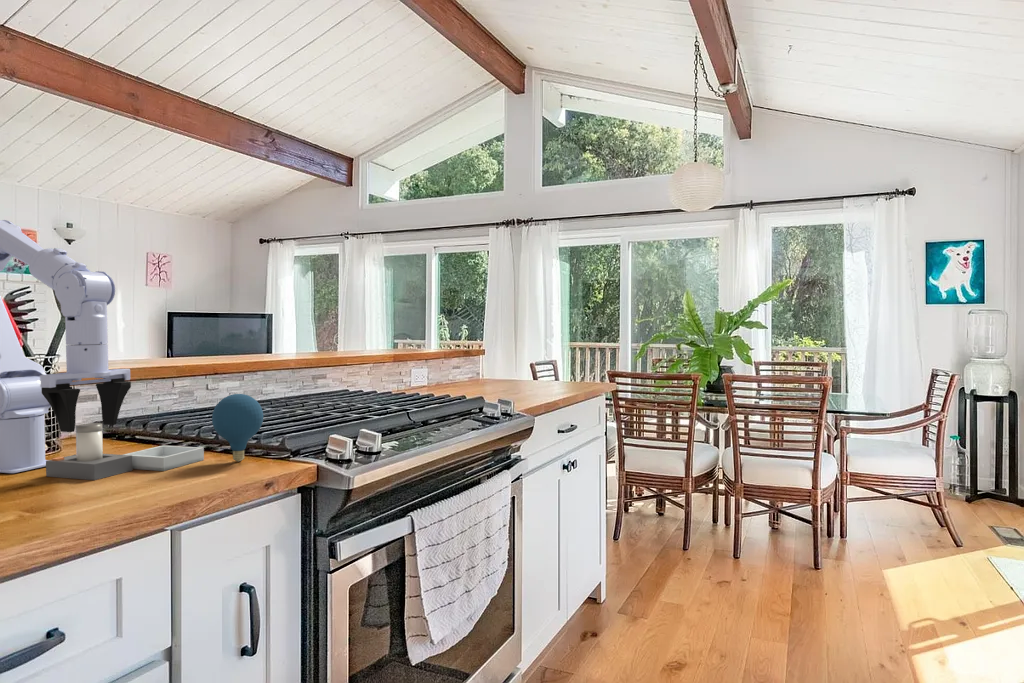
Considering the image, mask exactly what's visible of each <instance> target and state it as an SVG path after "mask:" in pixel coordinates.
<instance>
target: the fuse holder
mask: <svg viewBox="0 0 1024 683" xmlns="http://www.w3.org/2000/svg"><path fill="white" fill-rule="evenodd" d="M47 460H48V461H46V466H45V475H46V476H45V477H50V478H64V479H74V480H76V479H77V480H89V481H97V480H100V479H101V480H102V479H105V478H109V477H112V476H116V475H120V474H123V473H128V472H132V471H133V469H132V455H123V454H116V453H115V454H113V453H103V458H102V459H98V460H94V461H89V462H84V461H77V457H76V454H73V455H68V456H63V457H62V456H60V457H59V456H58V457H57V456H56V457H54V458H51V459H47Z"/></svg>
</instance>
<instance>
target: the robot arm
mask: <svg viewBox="0 0 1024 683" xmlns="http://www.w3.org/2000/svg"><path fill="white" fill-rule="evenodd" d="M67 254H68V251H67V250H65V249H63V248H58V247H57V248H56V247H54V248H53V247H50V248H49V247H48V248H43V247H42V246H41V245H39V244H38V243H37V242H35V241H34V240H33V239H31V238H30V237H29V236H28V235H26V234H25V233H23V231H22V228H21V226H20V225H17V224H14V222H12V221H10V220H7V219H2V220H0V272H3V271H4V269H5V268H6V266H7V265H8V263H9V262H10V260H11V258H12V257H13V258H15V259H17V260H19V261H20V262H22V263H24V264H26V265H28V270H29V271H28V272H29V273H30V274H31V276H32V277H33V278H34V279H37V280H38V281H40V283H43V284H44V285H46V286H47V287H48V288H50V289H51V290H53V291H54V294H55V297H56V299H57V302H59V304H60V313H61V314H62V316H63V317H65V318H64V322H65V323H64V325H65V355H66V356H65V358H66V359H65V361H66V362H65V364H66V372H65V371H64V372H60V373H49V374H47V373H46V371H45V369H44V367H43V365H41V364H39V363H38V362H36V361H34V360H32V359H30V358H28V357H26V356H25V354H24V350H23V349H22V346H21V344H20V341H19V339H18V336H17V334H16V331H15V329H14V326H13V324H12V322H11V319H10V316H9V314H8V310H7V309H6V306H5V304H4V301H3V298H2V296H1V295H0V473H4V474H17V473H20V472H25V471H30V470H34V469H35V470H36V469H39V468H44V467H46V461H48V460H49V459H46V439H45V438H46V436H45V434H46V433H45V429H46V428H45V427H46V426H45V414H49V409H50V408H51V409H52V411H53V414H54V416H55V418H56V421H57V424H58V427H59V431H60V432H61V433H72V432H74V433H75V431H76V430H75V426H76V422H77V420H76V417H77V416H76V413H77V412H76V410H77V403H78V399H79V396H80V393H81V389H80V388H73V386H75V385H76V386H77V385H87V384H95V387H96V389H97V392H98V396H99V399H100V405H101V419H102V425H109V426H110V425H111V426H114V425H117V423H118V422H117V421H118V418H119V414H120V411H121V407H122V405H123V402H124V399H125V397H126V396H127V393H128V392H129V391H130V389H131V387H132V382H131V381H130V380H131V369H130V368H113V369H110V368H109V344H108V343H109V338H108V337H109V336H108V335H109V334H108V332H109V331H108V330H109V329H108V305H110V304H112V302H113V300H114V298H115V296H116V284H115V282H114V280H113V278H112V277H111V276H110V275H109V274H108V273H107V272H106V271H101V270H100V271H99V270H97V271H91V270H90V269H88V268H87V265H86V264H85V263H84V262H78V261H76V260H75V259H74V258H72V257H70V256H69V255H67ZM89 378H91V379H89ZM93 378H94V379H93ZM82 379H87V380H82ZM88 379H89V380H88Z"/></svg>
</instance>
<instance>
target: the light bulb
mask: <svg viewBox="0 0 1024 683" xmlns="http://www.w3.org/2000/svg"><path fill="white" fill-rule="evenodd" d="M211 415H212V416H211V424H212V426H213V429H214V431H215V432H216V433H217V434H218V436H219V437H221V438H222V439H224V440H225V441H227V442H228V443H229V446H230V449H231V450H232V459H233V460H234V461H235V462H238V463H239V462H241V461H242V460H243V461H244V460H245V450H246V448H247V444H248V442H249V440H250V439H252V438H253V437H254V436H255V435H256V434H257V433H258V432H259V431H260V428H261V427H262V426H263V422H264V411H263V408H262V406H261V404H260V403H259V402H258V401H257V399H256V398H254V397H252V396H251V395H248V394H244V393H234V394H230V395H228V396H225V397H224V398H222V399H220V401H218V402H217V404H216V405H215V406H214V409H213V411H212V413H211Z"/></svg>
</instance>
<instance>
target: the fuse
mask: <svg viewBox="0 0 1024 683" xmlns="http://www.w3.org/2000/svg"><path fill="white" fill-rule="evenodd" d="M74 431H75V448H76V450H75V451H76V454H75V455H76V457H77V461H84V462H89V461H94V460H98V459H102V458H103V454H104V453H103V452H104V451H103V449H104V448H103V447H104V446H103V445H104V444H103V422H102V423H101V422H92V423H91V422H90V423H89V422H88V423H82V424H81V423H80V424H75V430H74Z"/></svg>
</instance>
